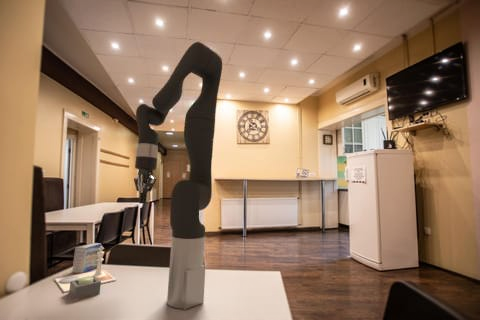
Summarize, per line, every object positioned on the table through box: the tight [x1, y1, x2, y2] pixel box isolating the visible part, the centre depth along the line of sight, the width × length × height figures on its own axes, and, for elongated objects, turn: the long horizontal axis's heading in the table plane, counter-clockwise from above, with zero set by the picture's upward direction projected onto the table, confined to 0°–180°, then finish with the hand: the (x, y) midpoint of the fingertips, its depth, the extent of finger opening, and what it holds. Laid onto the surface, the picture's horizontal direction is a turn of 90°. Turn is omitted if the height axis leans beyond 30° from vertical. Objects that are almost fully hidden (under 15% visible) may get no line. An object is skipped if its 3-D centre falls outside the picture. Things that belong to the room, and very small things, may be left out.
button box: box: [68, 276, 102, 301], centre depth 66 cm, size 6×6×3 cm
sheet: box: [54, 269, 117, 294], centre depth 75 cm, size 13×14×1 cm
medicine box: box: [72, 242, 103, 274], centre depth 86 cm, size 8×4×9 cm, turn 171°
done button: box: [78, 277, 93, 285], centre depth 66 cm, size 4×4×2 cm
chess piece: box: [90, 245, 107, 280], centre depth 77 cm, size 5×5×10 cm
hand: (142, 203), depth 85 cm, fingers closed
